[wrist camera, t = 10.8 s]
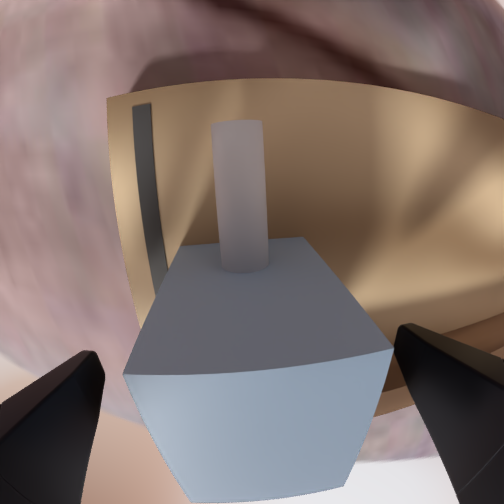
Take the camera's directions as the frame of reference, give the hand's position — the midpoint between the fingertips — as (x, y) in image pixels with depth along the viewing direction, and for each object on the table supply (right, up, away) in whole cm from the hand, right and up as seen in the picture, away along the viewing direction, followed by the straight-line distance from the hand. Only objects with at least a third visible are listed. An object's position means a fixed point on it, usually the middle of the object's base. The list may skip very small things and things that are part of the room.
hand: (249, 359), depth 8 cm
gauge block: (0, +3, +2) cm, 3 cm away
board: (+6, +3, +4) cm, 8 cm away
